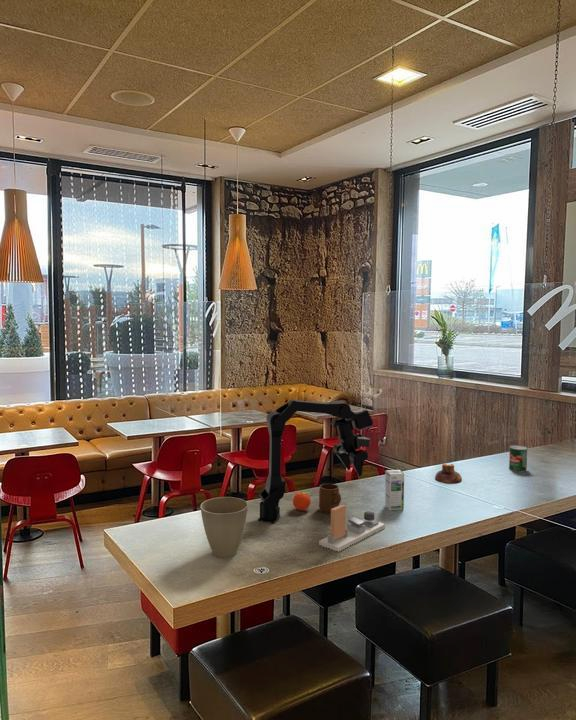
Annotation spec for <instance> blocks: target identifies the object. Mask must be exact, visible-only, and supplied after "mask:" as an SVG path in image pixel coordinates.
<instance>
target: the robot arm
mask: <svg viewBox="0 0 576 720" xmlns="http://www.w3.org/2000/svg"><path fill="white" fill-rule="evenodd" d="M297 412H302V413H303V412H304V413H315V414H325V415H329V416H333V417H335V418H333V419H332V421H331V422H330V425H332V426H333V427H337V432H338V436H337V440H338V441H339V443H338V442H337V443H334V444H333V447H332V450H333V453H335V455H336V456H337V457H338V459H339V460H340V461H341V463H342V464H343V466H344V467H345V468H346V470H348V471H350V470H351V465H352V467H353V469H354V470H355V472H356V474H357V476H358V477H362V476H363V470H364V469H363V467H364V464H365V461H367V460H368V459H369V458H370V456H369V452H368V451H366V450H365V449H362V448H363V447H364V448H370V447H371V438H369V437H366V436H363V434H362V433H358V432H359V431H362V430H365V429H369V428H373V426H374V422H373V418H372V417H371V415H370V413H369V410H368V409H363V410H361V411H358V412H354V411H353V410H352V409H351V406H350V405H349V404H348V403H347V402H344V401H343V400H333V401H332V400H331V401H327V402H326V401H325V402H321V401H310V400H309V401H308V400H301V399H300V400H299V399H294V398H291V399H289V400H288V401H287V402H286V403H285V404H283V405H281V406H279V407H278V408H277V409H275V410H271V411H270V412H269V413H268V414H266V424H267V425H266V426H267V430H268V434H269V457H268V458H269V461H268V464H269V467H268V475H267V478H266V481H265V487H264V489H263V490H262V491H260V493H259V494H258V495H259V498H260V500H261V502H259V517H258V519H257V521H259V522H263V523H264V522H265V523H272V524H274V523H275V522H277V521H278V520H279V519H280V518H281V514H280V513H281V512H280V511H281V510H280V509H281V508H280V505H279V503H280V500H282V499H283V498H284V495H285V493H286V483H287V482H286V480H285V479H284V477H283V476H281V475H282V474H281V471H282V469H281V468H282V467H281V464H282V437H283V434H284V432H285V429H286V423H287V422H289V420H291V418H292V417H293V415H295V414H296V413H297ZM337 418H339V419H337ZM354 430H357V431H358V432H357V433H356V434H355V431H354Z"/></svg>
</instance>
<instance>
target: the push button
mask: <svg viewBox="0 0 576 720" xmlns="http://www.w3.org/2000/svg"><path fill="white" fill-rule="evenodd" d="M364 519H365V520H368V521H372V520H374V521H375V512H373V511H368V510H367V511H364V513H363V520H364Z"/></svg>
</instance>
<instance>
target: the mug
mask: <svg viewBox="0 0 576 720" xmlns="http://www.w3.org/2000/svg"><path fill="white" fill-rule="evenodd" d="M318 489H319V491H318V494H319V495H318V500H319V502H318V504H319V507H318V508H319V511H320V512H321V513H324V512H327V513H326V514H331V509H332V508H335V507H337V506H339V505H340V504H341V502H342V496H341V493H340V486H339V485H337V484H335V483H323V484H320V485H319V488H318Z"/></svg>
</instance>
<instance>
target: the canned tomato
mask: <svg viewBox="0 0 576 720" xmlns="http://www.w3.org/2000/svg"><path fill="white" fill-rule="evenodd" d="M508 463H509V464H508V470H509V471H513V472H516V471H518V472H517V473H522V472H521V471H525V472H527V471H526V470H527V465H528V447H527V446H524V445H515V444H514V445H509V462H508ZM519 471H520V472H519Z"/></svg>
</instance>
